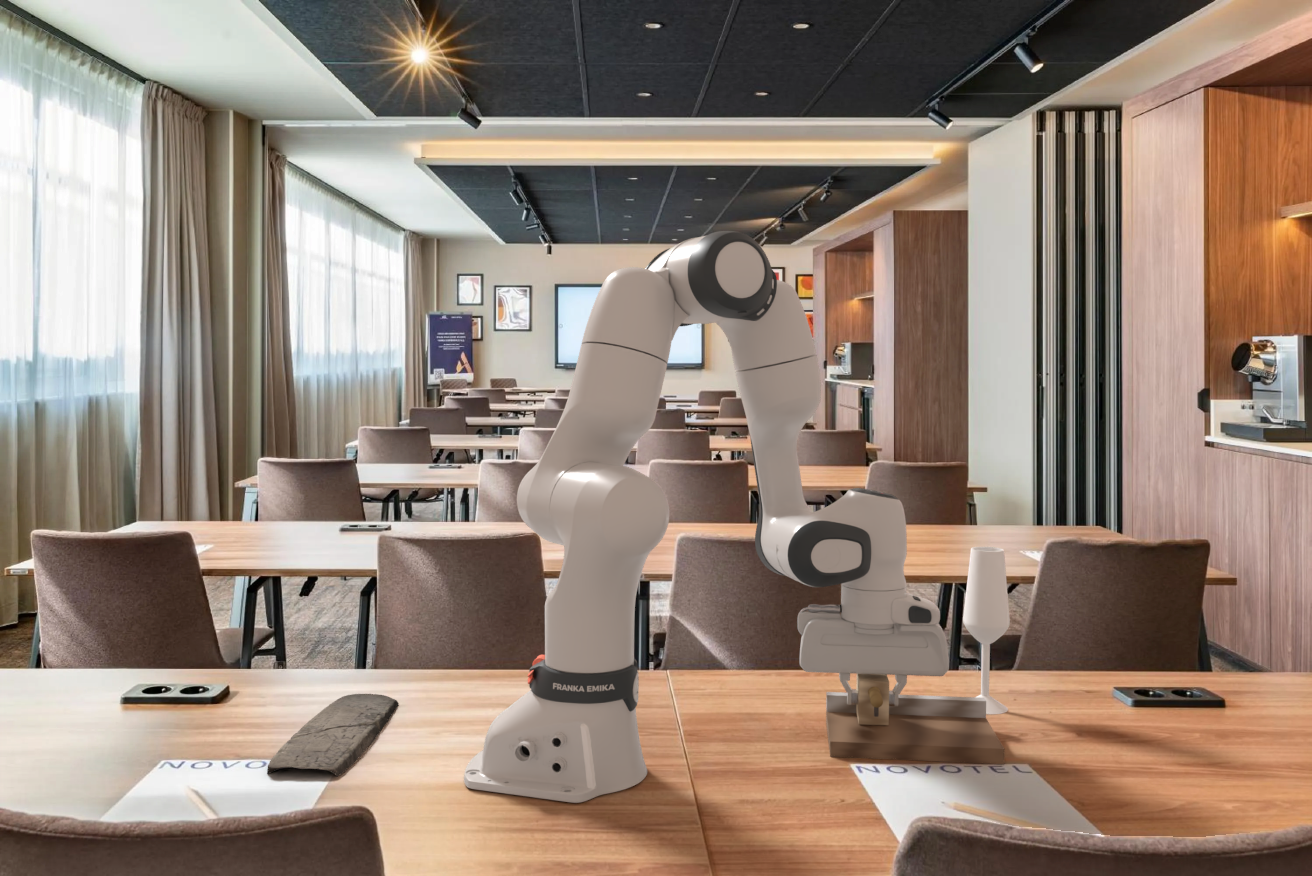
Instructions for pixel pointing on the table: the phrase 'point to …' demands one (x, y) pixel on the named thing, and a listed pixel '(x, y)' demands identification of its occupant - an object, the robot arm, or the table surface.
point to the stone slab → (336, 734)
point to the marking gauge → (873, 699)
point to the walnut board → (916, 730)
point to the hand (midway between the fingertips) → (872, 704)
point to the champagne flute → (987, 610)
